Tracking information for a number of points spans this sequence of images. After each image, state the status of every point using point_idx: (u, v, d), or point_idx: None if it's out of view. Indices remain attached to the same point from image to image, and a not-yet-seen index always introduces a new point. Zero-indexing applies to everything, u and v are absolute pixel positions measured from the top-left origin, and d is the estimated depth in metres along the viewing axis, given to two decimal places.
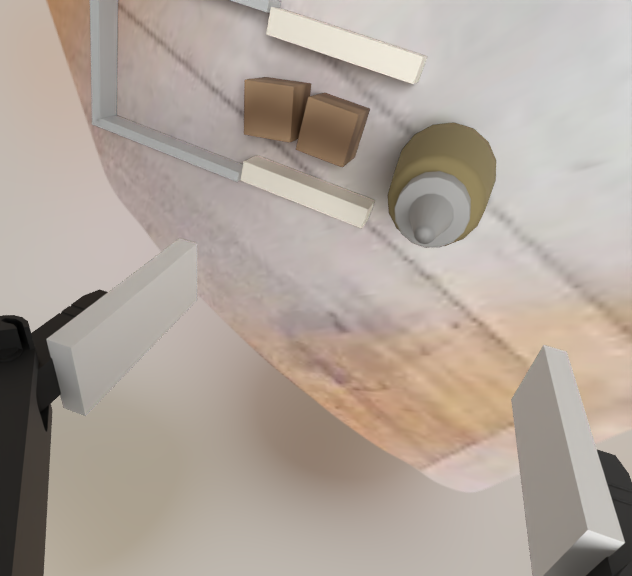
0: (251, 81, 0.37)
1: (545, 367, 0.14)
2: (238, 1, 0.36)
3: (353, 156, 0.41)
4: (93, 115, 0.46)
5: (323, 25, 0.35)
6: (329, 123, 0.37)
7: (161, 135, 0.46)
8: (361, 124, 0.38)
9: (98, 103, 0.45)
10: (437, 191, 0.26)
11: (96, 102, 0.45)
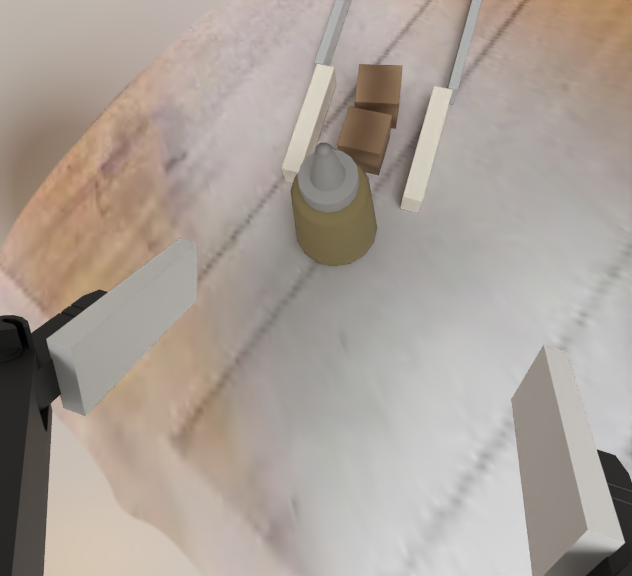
0: (401, 71, 0.45)
1: (545, 367, 0.14)
2: (455, 66, 0.47)
3: None
4: None
5: (441, 128, 0.45)
6: (371, 132, 0.44)
7: (348, 2, 0.52)
8: (368, 164, 0.46)
9: None
10: (347, 177, 0.32)
11: None
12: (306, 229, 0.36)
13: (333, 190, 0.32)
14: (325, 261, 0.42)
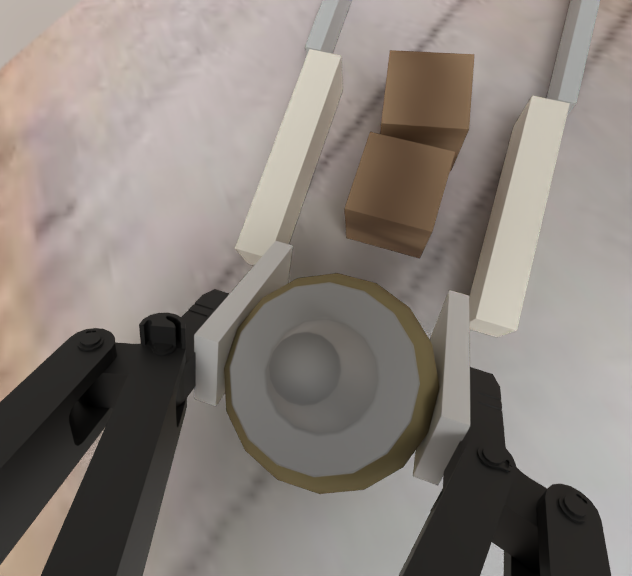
0: (472, 65, 0.23)
1: (447, 306, 0.16)
2: (569, 60, 0.25)
3: (350, 234, 0.25)
4: None
5: (550, 178, 0.23)
6: (414, 185, 0.22)
7: None
8: (403, 242, 0.24)
9: None
10: (383, 385, 0.10)
11: None
12: None
13: (339, 433, 0.10)
14: None
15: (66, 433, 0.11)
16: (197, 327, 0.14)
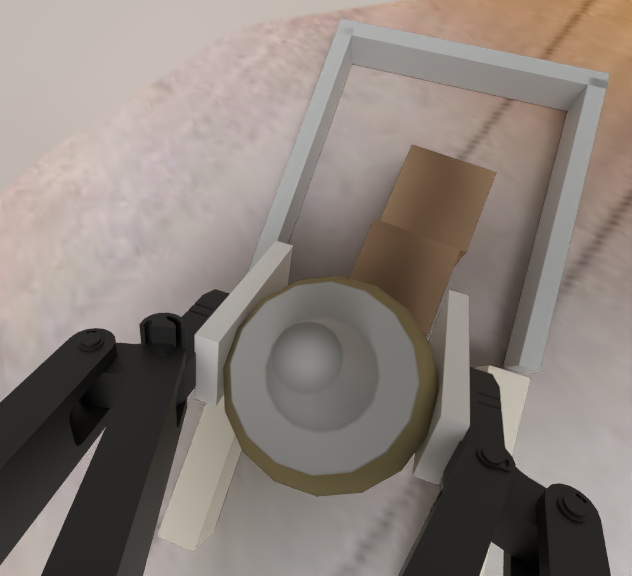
0: (490, 183, 0.22)
1: (446, 306, 0.16)
2: (533, 316, 0.22)
3: None
4: (355, 24, 0.27)
5: None
6: (415, 282, 0.21)
7: (322, 139, 0.28)
8: None
9: (374, 37, 0.27)
10: (383, 384, 0.10)
11: (376, 33, 0.27)
12: None
13: (338, 431, 0.10)
14: None
15: (67, 433, 0.11)
16: (197, 327, 0.14)
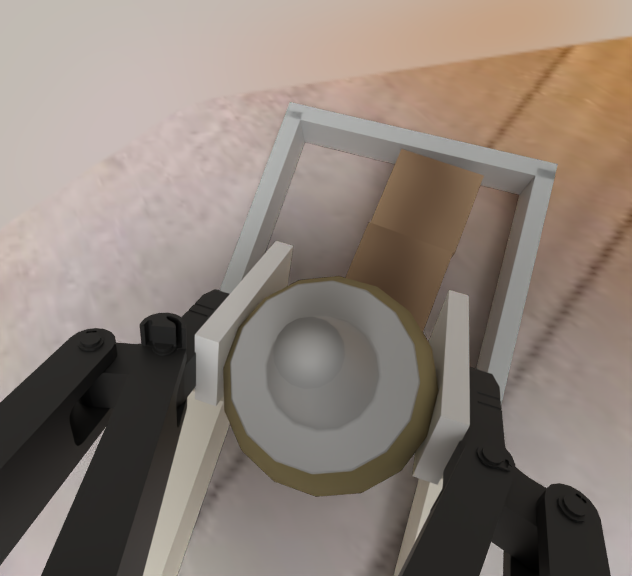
0: (478, 186, 0.22)
1: (446, 306, 0.16)
2: None
3: None
4: (304, 108, 0.27)
5: None
6: (408, 284, 0.22)
7: (272, 223, 0.27)
8: None
9: (323, 122, 0.26)
10: (384, 382, 0.10)
11: (324, 118, 0.26)
12: None
13: (338, 429, 0.10)
14: None
15: (67, 433, 0.11)
16: (197, 327, 0.14)
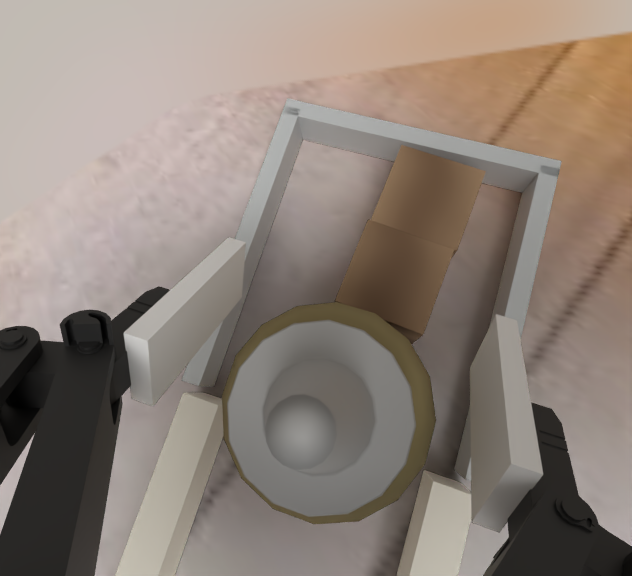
0: (480, 181, 0.22)
1: (495, 333, 0.15)
2: None
3: None
4: (302, 104, 0.26)
5: None
6: (409, 282, 0.21)
7: (270, 222, 0.27)
8: None
9: (321, 119, 0.26)
10: (380, 427, 0.10)
11: (322, 115, 0.26)
12: None
13: (334, 474, 0.10)
14: None
15: None
16: None
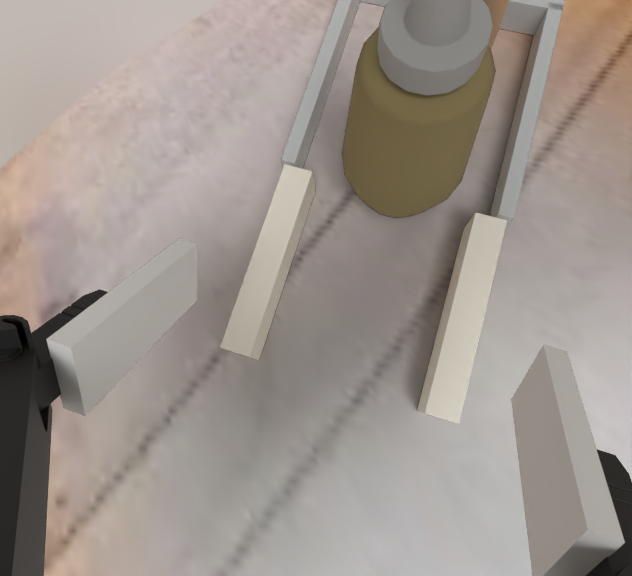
0: (506, 5, 0.30)
1: (545, 366, 0.14)
2: (508, 178, 0.29)
3: None
4: None
5: (489, 288, 0.27)
6: None
7: (338, 58, 0.34)
8: None
9: None
10: (473, 24, 0.18)
11: None
12: (377, 136, 0.22)
13: (448, 45, 0.17)
14: (389, 205, 0.27)
15: None
16: None
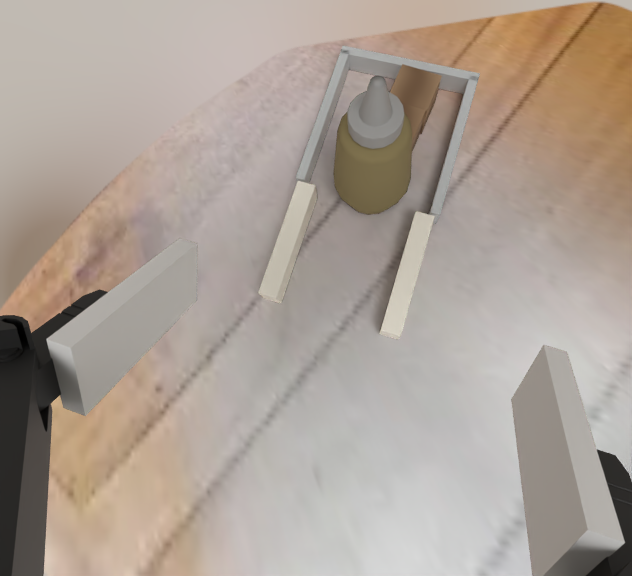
0: (439, 80, 0.47)
1: (545, 366, 0.14)
2: (437, 189, 0.46)
3: None
4: (350, 48, 0.51)
5: (422, 257, 0.44)
6: None
7: (333, 109, 0.51)
8: None
9: (360, 55, 0.51)
10: (394, 114, 0.35)
11: (361, 53, 0.51)
12: (349, 168, 0.39)
13: (381, 125, 0.35)
14: (361, 206, 0.44)
15: None
16: None
